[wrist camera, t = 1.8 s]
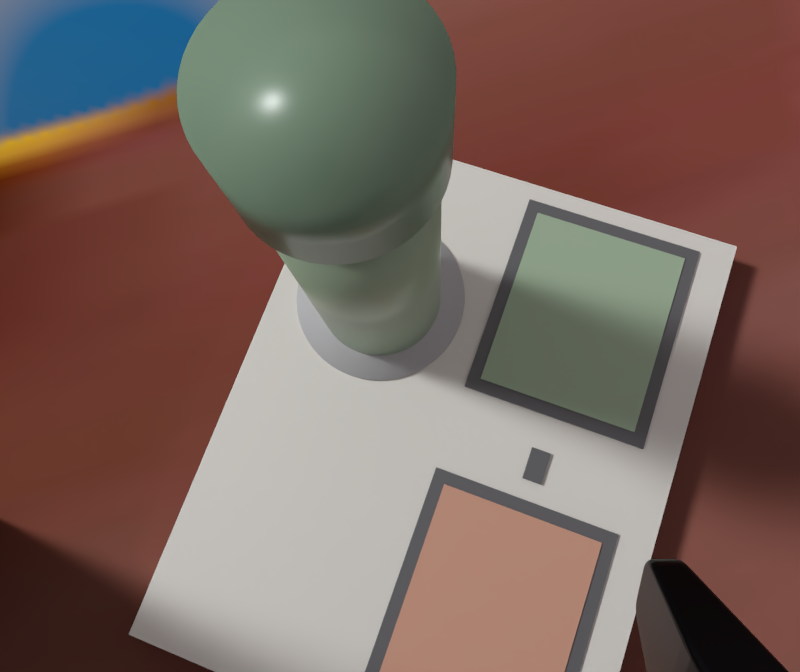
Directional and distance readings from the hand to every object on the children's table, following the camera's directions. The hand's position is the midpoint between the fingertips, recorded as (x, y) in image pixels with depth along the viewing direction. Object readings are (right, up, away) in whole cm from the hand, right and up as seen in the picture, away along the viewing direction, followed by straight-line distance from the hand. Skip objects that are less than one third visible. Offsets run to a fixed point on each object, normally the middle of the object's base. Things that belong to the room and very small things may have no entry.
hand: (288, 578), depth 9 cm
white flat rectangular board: (+3, 0, +14) cm, 14 cm away
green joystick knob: (+1, +4, +14) cm, 14 cm away
